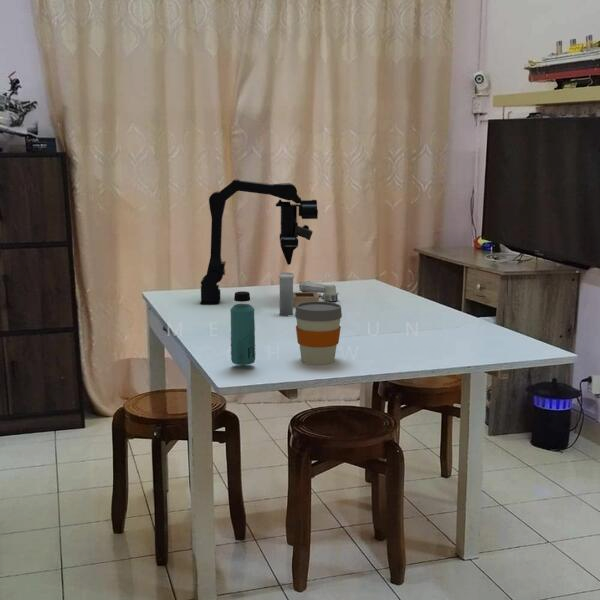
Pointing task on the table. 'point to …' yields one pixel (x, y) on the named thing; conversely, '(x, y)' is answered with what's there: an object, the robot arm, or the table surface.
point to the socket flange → (304, 297)
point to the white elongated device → (320, 290)
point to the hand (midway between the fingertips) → (288, 262)
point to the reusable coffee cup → (318, 331)
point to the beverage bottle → (242, 331)
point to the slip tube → (286, 293)
